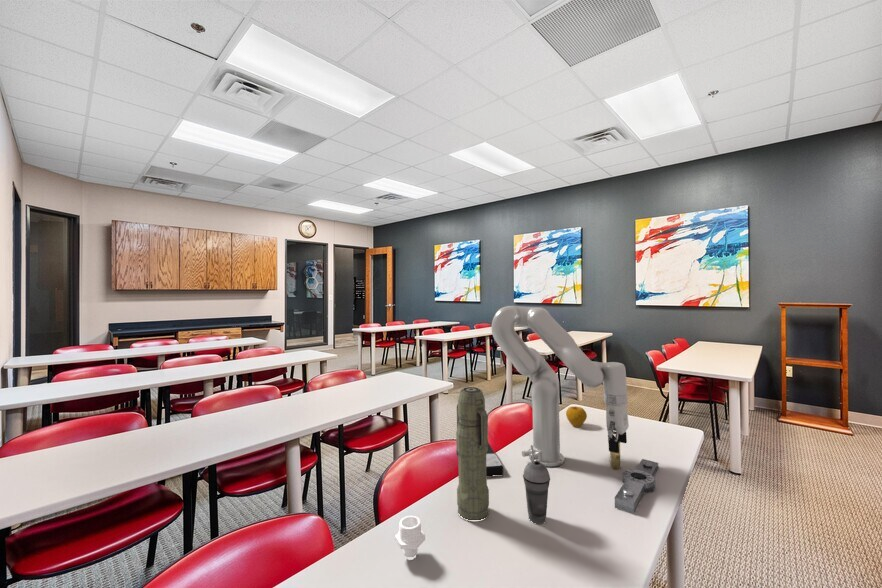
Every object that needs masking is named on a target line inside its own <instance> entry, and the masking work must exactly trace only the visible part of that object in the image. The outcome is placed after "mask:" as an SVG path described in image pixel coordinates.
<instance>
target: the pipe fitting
mask: <svg viewBox="0 0 882 588" xmlns="http://www.w3.org/2000/svg"><path fill="white" fill-rule="evenodd" d="M398 522H399V524H398V532H397V533H396V534H395V536H394V538H395V539H394V540H395V541H396V543H397V545H398V547H399V548H400V549H401V550H403V557H404V556H406V557H414V556H415V555H417V556H418V548H419V547H420V546H421V545H422V544H423V543H424V542H425V541H426V534H425V533H424V531H423V530H422V520H421V519H420V518H419V517H418V516H415V515H407V516H404V517H402V518H401V519H400V520H399V521H398Z"/></svg>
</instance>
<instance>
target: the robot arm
mask: <svg viewBox="0 0 882 588" xmlns="http://www.w3.org/2000/svg"><path fill="white" fill-rule="evenodd" d="M515 328H524V329H531V330H532V331H533V332H534V334H536V335H537V337H538V338H540V339H541V341H542V342H544V343H545V344H546V345H547V346H548V348H549V349H550V350H552V352H553V353H554V354H555V356H556V357H557V358H558V359H560V361H561V362H562V363H563V364H564V365H565V366H566V368H568V370H569V371H570V372H571V373H572V374H573V375H574V376H575V378H577V379H578V380H579V381H580V382H581V383H582V384H583V385H584V386H586V387H588V388H597V387H599V386H601V385H602V391H603V394H602V395H603V403H604V404H606V405H605V406H606V407H605V409H606V410H605V411H606V413H605V415H606V416H605V417H606V419H605V421H606V431H607V441H608V444H607V445H608V451H609V453H610V452H614V453H619V442H620V444H621V443H622V444H627V443H628V442H627V441H628V439H627V438H628V437H627V430H629V426H630V425H629V415H628V406H627V404H628V387H627V373H626V366H625V365H624V363H621V362H617V361H609V362H608V361H607V362H599V361H594V360H593V361H592V360H591V359H590V358H589V357H588V356H587V355H586V354H585V352H583V350H582V349H581V348H580V347H579V345H578V343H577V342H576V341H575V340H574V338H573V336H571V334H570V333H569V332H568V331H566V329H565V328H563V327H562V326H561V325H560V323H559V322H557V321H556V319H555V318H553V317H552V316H551V314H550V312H549V311H548V310H547V309H545V308H544V307H537V306H536V307H535V306H534V307H533V306H532V307H531V306H519V305H518V306H517V305H506V306H504V307H501V308H499V309H498V310H497V311H496V312H495V314H494V317H493V318H492V321H491V334H492V337H493V339H494V341H495V343H496V344H497V345H498V347H499V348H500V349H501V350H502V352H503V353H504V355H505V356H506V357H507V359H508V361H510V363H511V364H512V365H513V367H514V368H515V370H516V371H517V372H518V373H519V374H521V375H523V376H526V377H527V378H529V380H530V381H531V382H532V384H531V402H532V445H533V452H534V460H535V461H538V462H541V463H542V464H544V465H545V466H546V467H547V468H548V467H550V468H551V467H552V468H553V467H558V466H562V465H563V464H564V463H565V456H564V455H563V454H562V453H561V437H560V435H561V434H560V430H561V429H560V381H559V376H558V375H557V373H556V372H555V371H554V369H553V368H552V367H551V366H550V365H549V363H548V362H547V361H546V360H545V358H544V357H543V355H541V354H540V353H539V351H538V350H537V349H535V348H533V347H529V346H528V345H527V344H526V342H525V341H524V340H523V338H522V337H521V336H520V335H519V334H518V333H517V331H516V330H515ZM521 456H522V457H523V458H525V457H528V458H529V460H530V462H532V461H533V459H532V451H531V448H529V449H528V450H522V451H521Z"/></svg>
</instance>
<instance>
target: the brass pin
mask: <svg viewBox="0 0 882 588" xmlns="http://www.w3.org/2000/svg"><path fill="white" fill-rule="evenodd" d="M609 454H610V455H609V457H610V458H609V459H610V460H609V462H610V464H609V467H610V468H611V469H613V470H617V471H618V470H621V467H622V466H621V442H619V453H614V452H610V451H609Z"/></svg>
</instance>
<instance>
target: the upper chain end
mask: <svg viewBox="0 0 882 588" xmlns="http://www.w3.org/2000/svg"><path fill="white" fill-rule="evenodd" d="M633 477H639V478H643V479H644V480H639V479H635V478H633ZM623 479H624V480H625V482H624V483H623V484H622V485H621V487H620V488H619V490H618V491H617V493H616V494H615V497H614V508H615V509H616V508H617V510H620V511H623V512H625V513H629V514H632V515H635V514H634V513H636V512H637V509H638V508H639V506H640V504H641V502H642V500H643V498H644V496H645V493H644V489H645V488H650V487H653V486H654V484H655V485H656V479H655V476H654V477H653V476H652V475H650V474H649V473H647V472H644V471H640V470H636V469H625V470H624V471H623V473H622V480H623Z"/></svg>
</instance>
